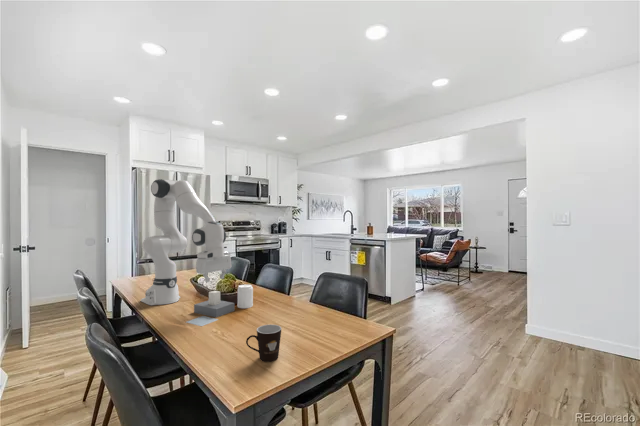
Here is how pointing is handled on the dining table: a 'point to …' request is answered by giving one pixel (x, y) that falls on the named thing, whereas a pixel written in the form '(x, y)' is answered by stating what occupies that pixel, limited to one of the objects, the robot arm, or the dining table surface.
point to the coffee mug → (267, 342)
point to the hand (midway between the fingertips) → (214, 280)
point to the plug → (214, 298)
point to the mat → (202, 321)
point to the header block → (214, 308)
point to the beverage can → (245, 296)
